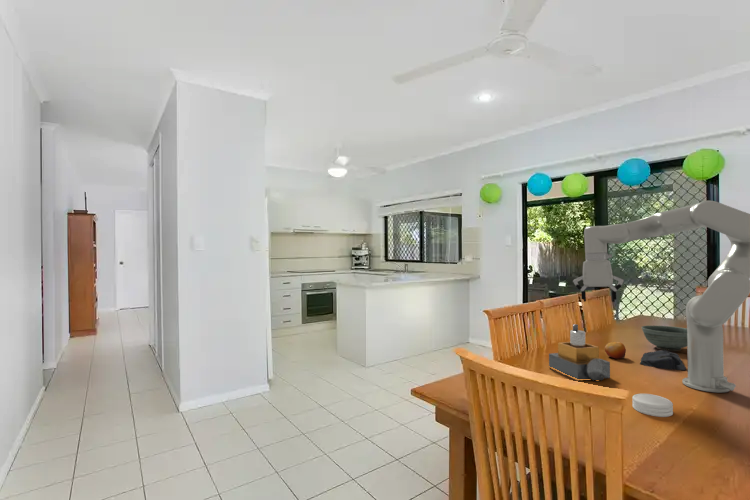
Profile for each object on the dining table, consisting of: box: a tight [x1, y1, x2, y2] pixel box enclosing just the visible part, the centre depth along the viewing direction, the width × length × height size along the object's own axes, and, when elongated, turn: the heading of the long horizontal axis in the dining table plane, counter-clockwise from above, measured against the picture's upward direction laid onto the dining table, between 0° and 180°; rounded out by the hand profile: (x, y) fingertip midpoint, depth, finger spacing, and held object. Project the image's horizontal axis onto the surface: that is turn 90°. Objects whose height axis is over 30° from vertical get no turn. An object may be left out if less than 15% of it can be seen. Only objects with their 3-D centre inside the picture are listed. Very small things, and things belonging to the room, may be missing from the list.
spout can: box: [569, 323, 586, 348], centre depth 151 cm, size 5×5×12 cm
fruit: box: [604, 341, 626, 360], centre depth 172 cm, size 8×8×8 cm
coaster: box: [631, 393, 674, 418], centre depth 116 cm, size 10×10×4 cm
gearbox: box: [548, 341, 611, 381], centre depth 150 cm, size 18×14×11 cm
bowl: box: [641, 325, 687, 352], centre depth 184 cm, size 21×21×10 cm
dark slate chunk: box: [639, 349, 687, 372], centre depth 164 cm, size 15×22×5 cm
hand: (598, 301), depth 152 cm, fingers open, 9 cm apart
